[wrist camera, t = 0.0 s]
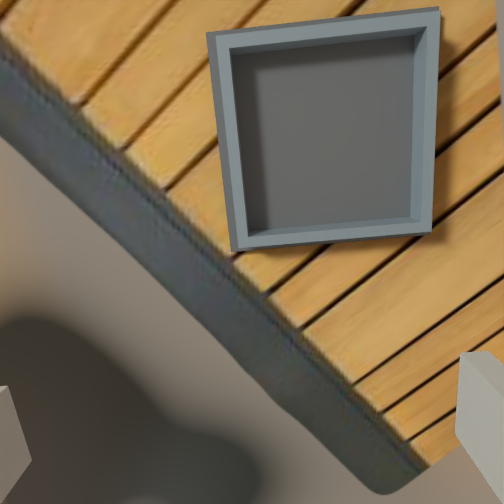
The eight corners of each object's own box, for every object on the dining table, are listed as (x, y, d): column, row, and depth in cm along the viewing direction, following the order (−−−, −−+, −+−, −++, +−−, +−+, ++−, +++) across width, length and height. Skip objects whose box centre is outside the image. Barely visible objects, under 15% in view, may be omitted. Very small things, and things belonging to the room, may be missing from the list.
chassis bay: (207, 35, 33) (201, 23, 30) (433, 10, 32) (454, -6, 29) (231, 249, 39) (229, 259, 35) (425, 232, 38) (442, 240, 34)
